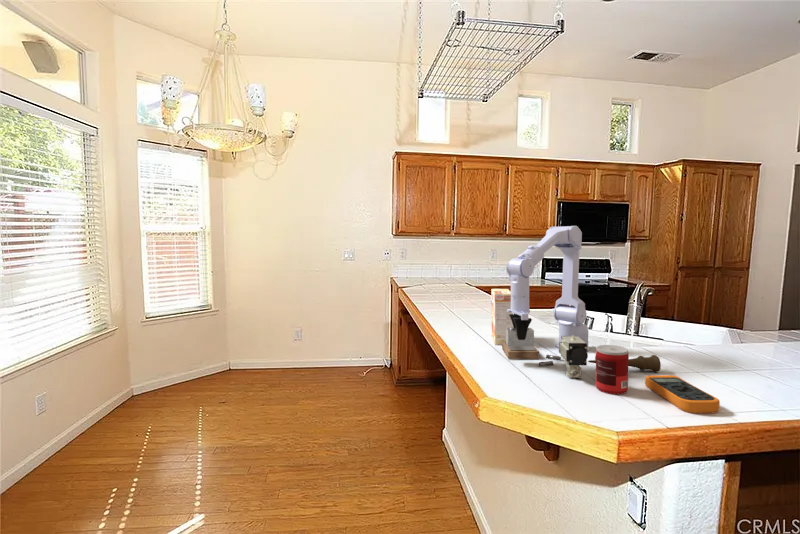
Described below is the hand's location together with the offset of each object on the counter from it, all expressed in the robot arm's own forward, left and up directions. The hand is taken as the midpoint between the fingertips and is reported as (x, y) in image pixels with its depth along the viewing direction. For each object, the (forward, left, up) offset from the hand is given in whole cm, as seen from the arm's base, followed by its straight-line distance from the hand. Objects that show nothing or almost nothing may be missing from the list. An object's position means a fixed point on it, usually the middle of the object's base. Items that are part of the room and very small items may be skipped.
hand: (520, 337), depth 134 cm
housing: (0, 0, -2) cm, 2 cm away
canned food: (-19, +23, -8) cm, 31 cm away
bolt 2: (-11, -3, -7) cm, 14 cm away
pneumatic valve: (-12, +13, -8) cm, 20 cm away
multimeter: (-33, +29, -9) cm, 45 cm away
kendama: (-28, +8, -9) cm, 31 cm away
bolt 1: (-8, +3, -7) cm, 11 cm away
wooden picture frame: (-2, -10, -8) cm, 13 cm away
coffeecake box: (+1, -29, -8) cm, 30 cm away
